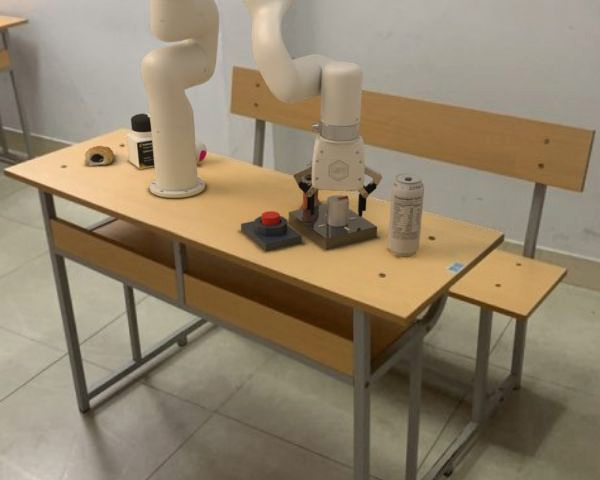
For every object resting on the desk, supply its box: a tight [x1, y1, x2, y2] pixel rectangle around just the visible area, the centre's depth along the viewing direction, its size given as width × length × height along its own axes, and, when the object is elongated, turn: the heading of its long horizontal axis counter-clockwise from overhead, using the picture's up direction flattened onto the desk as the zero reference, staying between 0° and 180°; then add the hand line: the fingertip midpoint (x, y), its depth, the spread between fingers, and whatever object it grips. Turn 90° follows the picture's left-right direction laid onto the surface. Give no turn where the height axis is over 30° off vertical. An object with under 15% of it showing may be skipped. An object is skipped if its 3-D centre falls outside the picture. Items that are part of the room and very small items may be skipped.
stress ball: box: [195, 139, 208, 167], centre depth 193 cm, size 8×8×7 cm
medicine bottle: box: [126, 113, 155, 170], centre depth 191 cm, size 7×7×12 cm
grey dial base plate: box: [288, 203, 378, 251], centre depth 158 cm, size 15×12×3 cm
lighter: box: [301, 159, 320, 209], centre depth 166 cm, size 8×3×10 cm, turn 168°
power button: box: [261, 210, 281, 226], centre depth 154 cm, size 4×4×2 cm
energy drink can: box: [387, 173, 425, 258], centre depth 147 cm, size 6×6×15 cm
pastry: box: [84, 145, 115, 167], centre depth 194 cm, size 9×7×4 cm
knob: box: [326, 194, 350, 227], centre depth 155 cm, size 4×4×5 cm
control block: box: [240, 215, 303, 252], centre depth 155 cm, size 11×8×4 cm
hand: (336, 213), depth 155 cm, fingers open, 9 cm apart
